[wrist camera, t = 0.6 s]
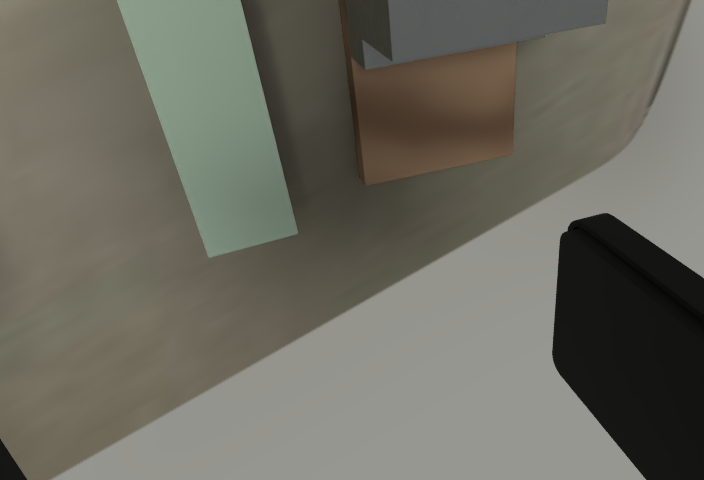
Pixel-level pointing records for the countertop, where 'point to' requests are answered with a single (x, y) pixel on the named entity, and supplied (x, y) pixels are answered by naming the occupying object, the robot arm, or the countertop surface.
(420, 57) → the stand
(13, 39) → the countertop surface
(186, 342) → the countertop surface
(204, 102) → the beam
